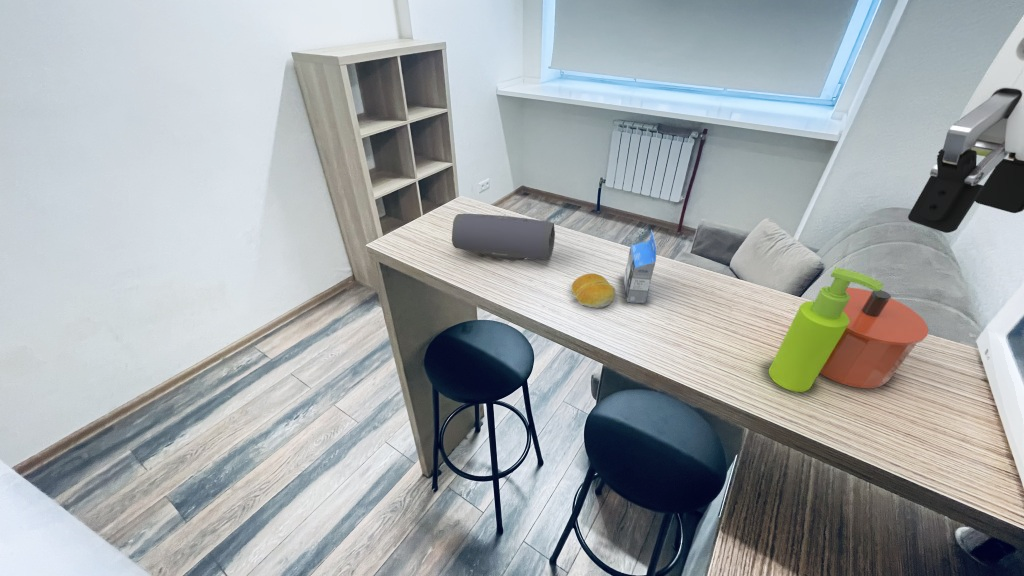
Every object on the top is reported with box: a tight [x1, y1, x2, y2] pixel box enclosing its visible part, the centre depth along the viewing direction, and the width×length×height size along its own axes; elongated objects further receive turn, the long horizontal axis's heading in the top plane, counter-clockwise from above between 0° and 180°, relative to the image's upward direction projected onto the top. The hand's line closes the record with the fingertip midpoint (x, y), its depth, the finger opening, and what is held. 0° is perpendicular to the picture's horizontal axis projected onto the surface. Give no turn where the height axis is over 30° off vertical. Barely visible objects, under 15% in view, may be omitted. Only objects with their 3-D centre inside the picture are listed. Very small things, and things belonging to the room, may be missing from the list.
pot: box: [819, 330, 918, 389], centre depth 65 cm, size 13×13×10 cm
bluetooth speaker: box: [451, 213, 556, 262], centre depth 95 cm, size 23×9×10 cm, turn 76°
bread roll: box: [571, 273, 616, 309], centre depth 82 cm, size 8×9×4 cm
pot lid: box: [843, 286, 929, 345], centre depth 61 cm, size 14×14×5 cm
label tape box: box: [623, 229, 658, 304], centre depth 81 cm, size 9×4×12 cm, turn 171°
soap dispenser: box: [768, 266, 884, 393], centre depth 59 cm, size 6×7×20 cm
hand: (964, 216), depth 36 cm, fingers open, 9 cm apart
